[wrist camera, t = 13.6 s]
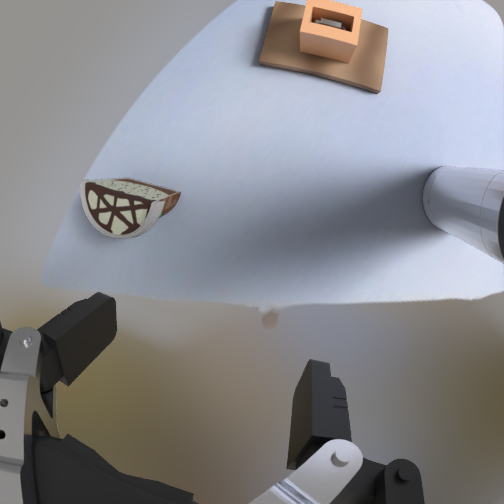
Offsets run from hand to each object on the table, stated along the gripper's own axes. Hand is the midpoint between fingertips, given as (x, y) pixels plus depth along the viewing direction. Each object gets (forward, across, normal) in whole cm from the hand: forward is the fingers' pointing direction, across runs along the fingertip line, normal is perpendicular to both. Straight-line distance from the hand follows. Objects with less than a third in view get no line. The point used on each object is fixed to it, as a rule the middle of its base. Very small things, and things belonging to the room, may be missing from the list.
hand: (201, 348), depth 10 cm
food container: (+28, +18, +2) cm, 34 cm away
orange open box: (+27, -2, -26) cm, 37 cm away
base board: (+28, -2, -26) cm, 38 cm away
